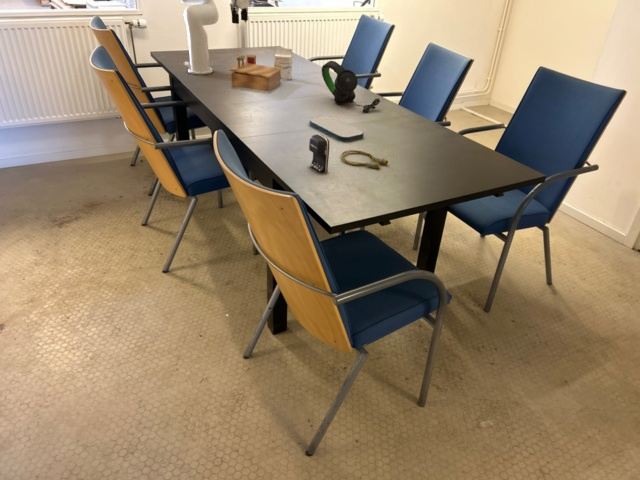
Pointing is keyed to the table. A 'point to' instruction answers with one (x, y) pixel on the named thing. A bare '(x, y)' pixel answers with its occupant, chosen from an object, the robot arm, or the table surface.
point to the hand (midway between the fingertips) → (240, 21)
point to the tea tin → (251, 59)
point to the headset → (343, 85)
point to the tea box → (255, 81)
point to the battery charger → (319, 153)
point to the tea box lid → (254, 69)
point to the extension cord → (370, 164)
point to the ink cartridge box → (284, 62)
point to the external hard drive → (336, 128)
